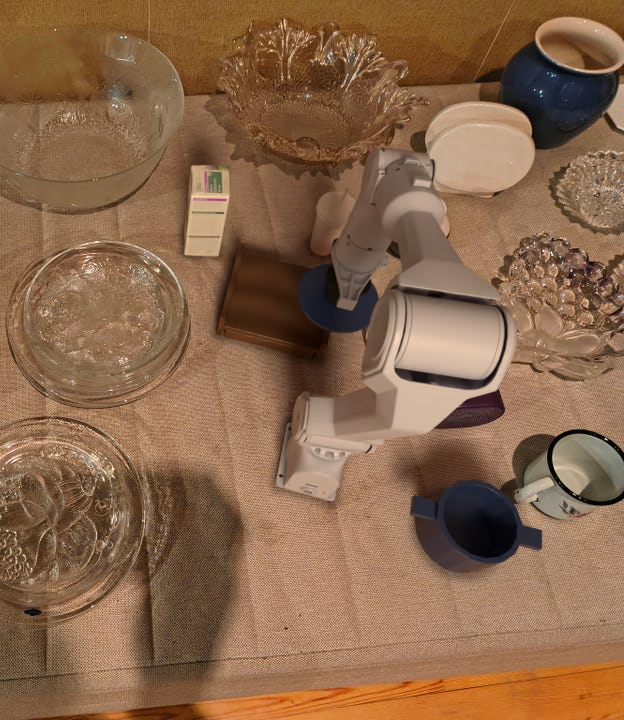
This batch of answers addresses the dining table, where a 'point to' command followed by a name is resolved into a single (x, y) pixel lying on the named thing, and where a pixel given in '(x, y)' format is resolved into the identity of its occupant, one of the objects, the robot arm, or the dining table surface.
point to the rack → (269, 307)
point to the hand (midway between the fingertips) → (335, 293)
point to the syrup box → (206, 210)
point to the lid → (330, 315)
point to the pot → (471, 527)
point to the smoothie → (330, 220)
